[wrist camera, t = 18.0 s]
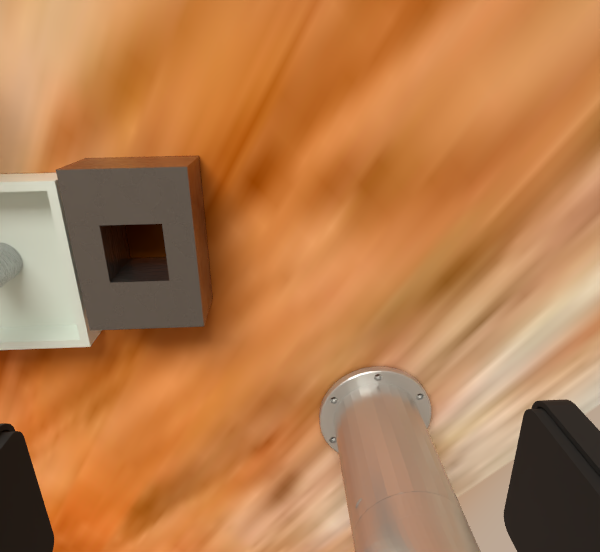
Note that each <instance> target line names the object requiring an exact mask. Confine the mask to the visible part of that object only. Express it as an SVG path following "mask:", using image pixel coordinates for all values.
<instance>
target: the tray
mask: <svg viewBox="0 0 600 552" xmlns="http://www.w3.org/2000/svg"><path fill="white" fill-rule="evenodd" d="M0 242H1V243H6V244H8V245H10V246H12V247H13V248H15V249H16V250H17V251H18V252H19V254H20V255H21V257H22V261H23V267H22V270H21V272H20V273H19V274H18V275H17V276H16V277H14V278H13V279H12V280H10V281H9V282H8V283H6V284H5V285H3V286H2V287H1V288H0V350H17V349H44V348H71V347H91V345H92V344H93V342H94V341H95V340H96V338H97V337H98V335H99V334H100V333H101V331H102V330H90V329H89V324H88V319H87V314H86V310H85V305H84V300H83V296H82V291H81V286H80V281H79V277H78V272H77V267H76V263H75V258H74V253H73V249H72V244H71V239H70V234H69V230H68V225H67V220H66V216H65V211H64V206H63V201H62V197H61V192H60V187H59V183H58V178H57V173H26V174H0Z"/></svg>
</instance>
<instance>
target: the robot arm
mask: <svg viewBox="0 0 600 552" xmlns="http://www.w3.org/2000/svg"><path fill="white" fill-rule="evenodd" d="M319 420H320V428H321V432H322V434H323V436H324V438H325V440H326V442H327V443H328V444H329V445H330V447H331V448H333V449H334V450H335V451H336V452H338V453H339V458H340V464H341V470H342V476H343V482H344V488H345V494H346V500H347V506H348V512H349V518H350V524H351V530H352V536H353V542H354V548H355V552H480V549H479V547H478V545H477V543H476V541H475V538H474V536H473V534H472V532H471V529H470V527H469V525H468V522H467V520H466V518H465V516H464V513H463V511H462V509H461V506H460V504H459V502H458V499H457V497H456V495H455V493H454V490H453V488H452V486H451V483H450V481H449V479H448V476H447V474H446V472H445V470H444V467H443V465H442V463H441V460H440V458H439V456H438V453H437V451H436V449H435V447H434V444H433V442H432V440H431V437H430V435H429V433H428V430H427V429H428V426H429V424H430V420H431V404H430V400H429V397H428V395H427V393H426V391H425V389H424V388H423V386H422V385H421V383H420V382H418V381H417V380H416V379H415V378H414V377H413V376H411V375H410V374H408V373H406V372H404V371H401V370H399V369H396V368H390V367H369V368H363V369H360V370H357V371H354V372H352V373H350V374H348V375H346V376H344V377H342V378H341V379H340V380H338V381H337V382H336V383H335V384H334V385H333V386H332V387H331V388H330V389H329V390H328V392H327V393H326V395H325V396H324V398H323V400H322V403H321V406H320V412H319ZM504 522H505V526H506V529H507V532H508V534H509V536H510V538H511V540H512V542H513V544H514V546H515V548H516V550H517V552H600V431H599V430H598V429H597V428H596V427H595V425H594V424H593V423H592V422H591V421H590V420H589V419H588V418H587V417H586V416H585V415H584V414H583V413H582V411H581V410H580V409H579V408H578V407H577V406H576V405H575V404H574V403H573V402H571V401H569V400H546V401H536V402H535V403H534V404H533V406H532V409H528V410H526V411H525V413H524V416H523V421H522V426H521V430H520V435H519V440H518V445H517V450H516V455H515V460H514V465H513V470H512V475H511V480H510V485H509V490H508V494H507V499H506V504H505V509H504ZM53 546H54V535H53V531H52V528H51V524H50V521H49V518H48V515H47V511H46V508H45V505H44V501H43V498H42V495H41V491H40V488H39V485H38V482H37V478H36V475H35V472H34V468H33V465H32V462H31V458H30V455H29V452H28V449H27V445H26V442H25V439H24V436H23V434H22V433H21V432H19V431H15V429H14V427H13V426H12V425H11V424H0V552H52V551H53Z"/></svg>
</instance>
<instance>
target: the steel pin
mask: <svg viewBox="0 0 600 552" xmlns="http://www.w3.org/2000/svg"><path fill="white" fill-rule="evenodd" d="M22 267H23V261H22V257H21V255H20V254H19V252H18V251H17V250H16V249H15V248H13V247H12V246H10V245H8V244H6V243H1V242H0V288H1V287H2V286H3V285H5V284H6V283H8V282H9V281H10V280H12V279H13V278H14V277H16V276H17V275H18V274H19V273H20V272H21V270H22Z"/></svg>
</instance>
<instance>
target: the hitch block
mask: <svg viewBox="0 0 600 552" xmlns="http://www.w3.org/2000/svg"><path fill="white" fill-rule="evenodd" d="M56 173H57V178H58V183H59V187H60V192H61V197H62V201H63V206H64V211H65V216H66V220H67V225H68V230H69V234H70V239H71V244H72V249H73V253H74V258H75V263H76V267H77V272H78V277H79V281H80V286H81V291H82V296H83V300H84V305H85V310H86V314H87V319H88V324H89V329H90V330H118V329H145V328H173V327H201V326H204V325H205V322H206V319H207V315H208V312H209V309H210V305H211V302H212V299H213V296H212V285H211V275H210V265H209V254H208V244H207V233H206V223H205V213H204V202H203V192H202V181H201V171H200V161H199V156H165V157H122V158H85V159H82V160H80V161H77V162H75V163H72V164H70V165H67V166H64V167H62V168H59V169H57V170H56ZM137 224H162V228H163V235H164V243H165V250H166V257H153V258H130V252H129V246H128V240H127V234H126V228H125V225H137Z"/></svg>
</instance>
